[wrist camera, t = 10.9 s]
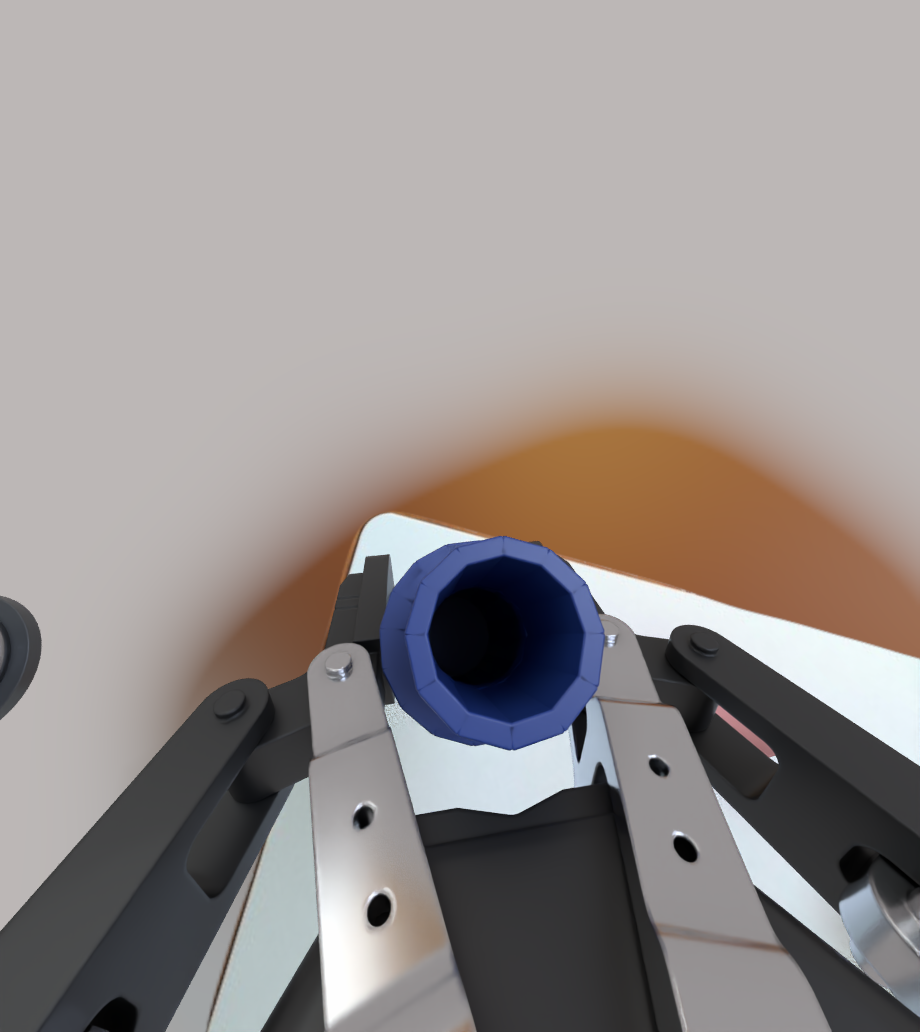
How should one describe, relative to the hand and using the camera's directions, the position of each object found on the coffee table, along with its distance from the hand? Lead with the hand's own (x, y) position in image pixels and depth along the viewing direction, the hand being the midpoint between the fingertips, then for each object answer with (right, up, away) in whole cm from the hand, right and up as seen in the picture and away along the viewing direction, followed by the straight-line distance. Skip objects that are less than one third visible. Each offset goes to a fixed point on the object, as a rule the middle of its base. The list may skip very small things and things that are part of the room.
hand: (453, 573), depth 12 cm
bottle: (0, -4, +5) cm, 6 cm away
